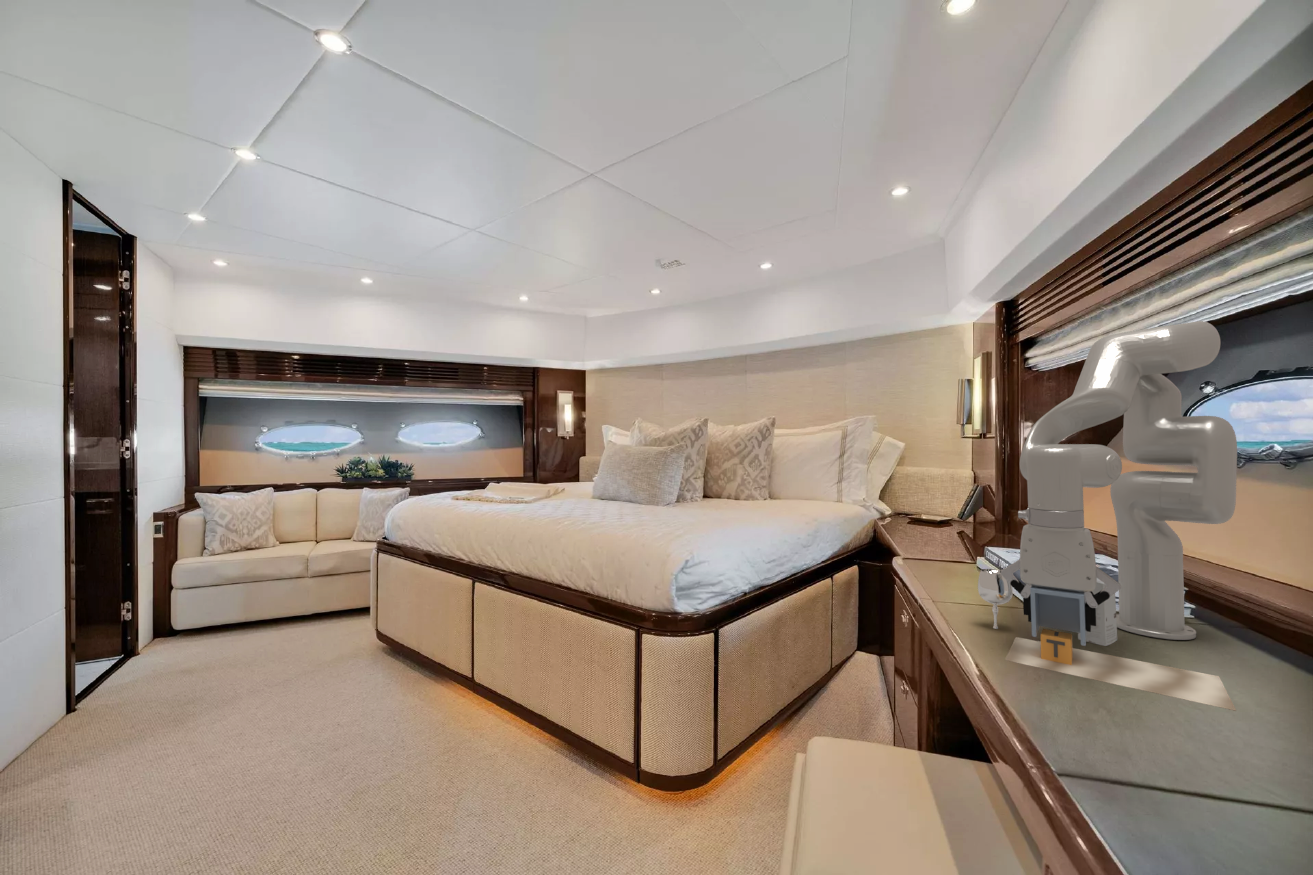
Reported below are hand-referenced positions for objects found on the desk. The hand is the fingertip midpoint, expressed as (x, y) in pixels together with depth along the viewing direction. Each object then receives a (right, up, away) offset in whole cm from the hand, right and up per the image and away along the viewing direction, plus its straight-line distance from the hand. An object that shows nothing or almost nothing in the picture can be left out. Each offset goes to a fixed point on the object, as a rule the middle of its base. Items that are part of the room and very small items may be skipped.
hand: (1059, 623), depth 88 cm
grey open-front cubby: (0, -2, 0) cm, 2 cm away
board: (+4, -6, -5) cm, 9 cm away
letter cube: (-1, -5, -1) cm, 6 cm away
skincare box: (+13, -7, +8) cm, 17 cm away
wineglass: (-2, -7, +14) cm, 16 cm away
